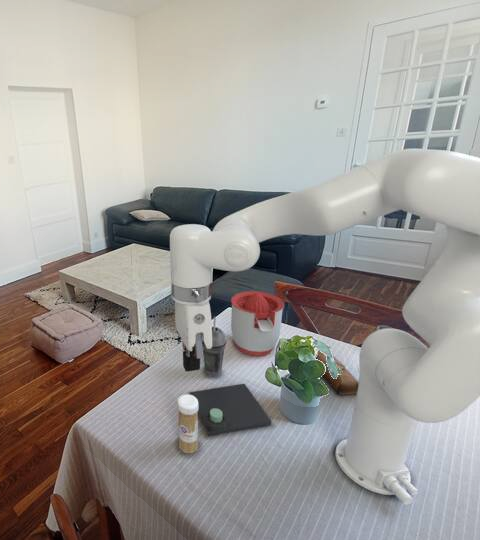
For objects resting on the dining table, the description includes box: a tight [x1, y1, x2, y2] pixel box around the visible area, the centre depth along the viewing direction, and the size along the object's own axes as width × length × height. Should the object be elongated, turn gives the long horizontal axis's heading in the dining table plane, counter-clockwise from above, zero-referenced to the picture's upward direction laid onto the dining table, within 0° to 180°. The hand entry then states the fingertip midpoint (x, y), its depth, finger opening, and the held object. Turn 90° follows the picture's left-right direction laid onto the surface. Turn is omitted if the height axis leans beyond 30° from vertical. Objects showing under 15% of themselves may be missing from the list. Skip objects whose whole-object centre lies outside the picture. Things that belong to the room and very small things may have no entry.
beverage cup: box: [202, 316, 228, 379], centre depth 99 cm, size 7×7×20 cm
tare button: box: [210, 408, 223, 423], centre depth 82 cm, size 3×3×2 cm
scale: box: [189, 383, 272, 437], centre depth 87 cm, size 14×16×3 cm
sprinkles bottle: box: [176, 393, 199, 454], centre depth 76 cm, size 5×5×14 cm
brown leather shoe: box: [316, 349, 359, 396], centre depth 97 cm, size 18×7×7 cm
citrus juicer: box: [230, 290, 285, 357], centre depth 109 cm, size 16×17×20 cm
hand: (191, 368), depth 71 cm, fingers closed
